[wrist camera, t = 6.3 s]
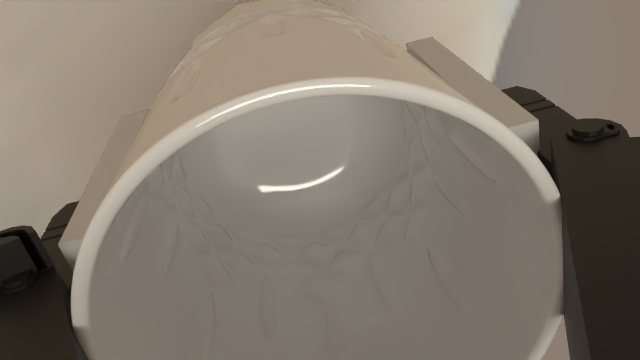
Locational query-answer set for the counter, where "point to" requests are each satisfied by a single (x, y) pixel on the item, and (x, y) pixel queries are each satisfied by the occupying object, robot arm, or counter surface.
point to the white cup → (319, 209)
